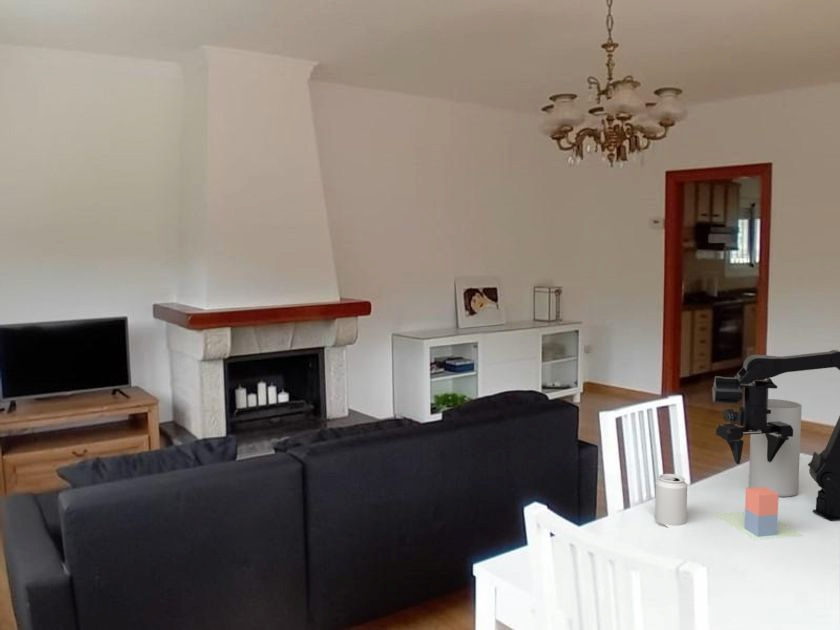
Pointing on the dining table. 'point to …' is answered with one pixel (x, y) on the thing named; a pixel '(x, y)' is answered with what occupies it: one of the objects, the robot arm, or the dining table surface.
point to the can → (671, 500)
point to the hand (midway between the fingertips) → (753, 462)
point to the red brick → (761, 501)
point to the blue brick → (761, 524)
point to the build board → (739, 523)
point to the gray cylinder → (786, 462)
